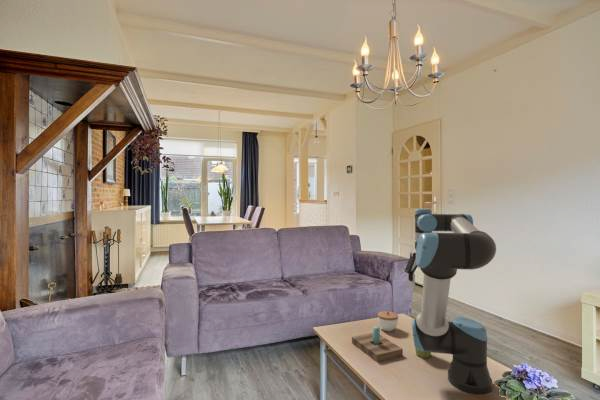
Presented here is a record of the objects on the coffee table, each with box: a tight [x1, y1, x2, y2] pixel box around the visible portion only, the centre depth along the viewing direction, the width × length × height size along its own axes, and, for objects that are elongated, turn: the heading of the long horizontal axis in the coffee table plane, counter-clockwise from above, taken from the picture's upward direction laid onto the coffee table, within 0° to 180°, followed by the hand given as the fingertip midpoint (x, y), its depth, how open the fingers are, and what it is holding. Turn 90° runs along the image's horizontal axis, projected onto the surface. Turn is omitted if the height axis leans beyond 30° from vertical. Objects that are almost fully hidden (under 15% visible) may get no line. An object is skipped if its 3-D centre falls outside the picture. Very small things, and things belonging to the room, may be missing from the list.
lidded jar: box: [377, 310, 399, 332], centre depth 176 cm, size 11×11×9 cm
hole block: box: [351, 332, 404, 363], centre depth 152 cm, size 20×14×3 cm
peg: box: [372, 326, 381, 345], centre depth 152 cm, size 3×3×10 cm
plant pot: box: [411, 332, 432, 359], centre depth 147 cm, size 9×9×9 cm
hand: (423, 286), depth 154 cm, fingers open, 13 cm apart
